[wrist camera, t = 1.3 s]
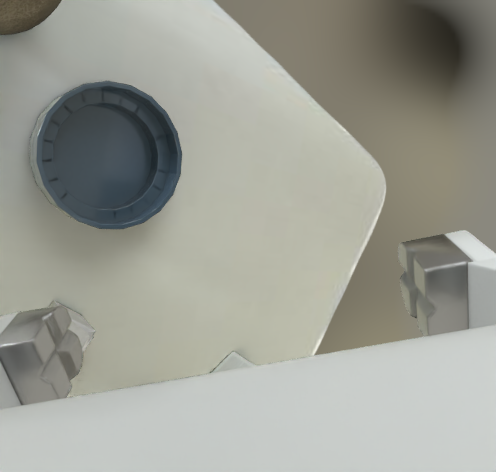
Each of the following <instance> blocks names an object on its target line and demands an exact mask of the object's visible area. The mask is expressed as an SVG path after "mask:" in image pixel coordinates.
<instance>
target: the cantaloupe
mask: <svg viewBox="0 0 496 472" xmlns="http://www.w3.org/2000/svg"><path fill="white" fill-rule="evenodd" d="M60 2H61V0H0V35H8V34H15V33H19V32H23V31H27V30H29V29H31V28H33V27H35V26H36V25H38V24H40V23H41V22H42V21H44V20H45V19H46V18H47V17H48V16H49V15H50V14H51V13H52V12H53V11H54V10H55V9H56V8H57V6H58V5H59V3H60Z"/></svg>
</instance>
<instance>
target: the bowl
mask: <svg viewBox="0 0 496 472" xmlns="http://www.w3.org/2000/svg"><path fill="white" fill-rule="evenodd" d="M181 160H182V151H181V147H180V142H179V137H178V133H177V131H176V129H175V127H174V125H173V123H172V121H171V119H170V118H169V116H168V114H167V112H166V111H165V110H164V109H163V108H162V107H161V106H160V105H159V104H158V103H157V102H156V101H155V100H154V99H153V98H152V97H151V96H149V95H147V94H146V93H144V92H142V91H140V90H138V89H137V88H135V87H133V86H130V85H127V84H122V83H116V82H111V81H102V82H95V83H88V84H83V85H81V86H79V87H77V88H75V89H73V90H71V91H69V92H67V93H65V94H64V95H62V96H60V97H58V98H56V99H54V100H53V101H52V102H51V103H50V104H49V106H48V107H47V108H46V109H45V110H44V111H43V112H42V113H41V114H40V115H39V117H38V119H37V122H36V124H35V127H34V129H33V132H32V134H31V137H30V155H29V162H30V165H31V169H32V172H33V175H34V178H35V182H36V184H37V186H38V187H39V188H40V190H41V191H42V193H43V194H44V195H45V197H46V198H47V200H48V201H49V202H50V203H51V204H52V205H53V206H55V207H56V208H57V209H59V210H60V211H61V212H63V213H64V214H65V215H67V216H68V217H70V218H72V219H74V220H76V221H79V222H82V223H84V224H87V225H90V226H93V227H96V228H99V229H125V228H128V227H131V226H135V225H138V224H141V223H144V222H145V221H147V220H148V219H149V218H151V217H152V216H154V215H155V214H157V213H158V212H160V211H161V209H162V208H163V207H164V206H165V204H166V203H167V202H168V200H169V199H170V198H171V196H172V195H173V193H174V191H175V188H176V185H177V183H178V180H179V177H180V174H181Z"/></svg>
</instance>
